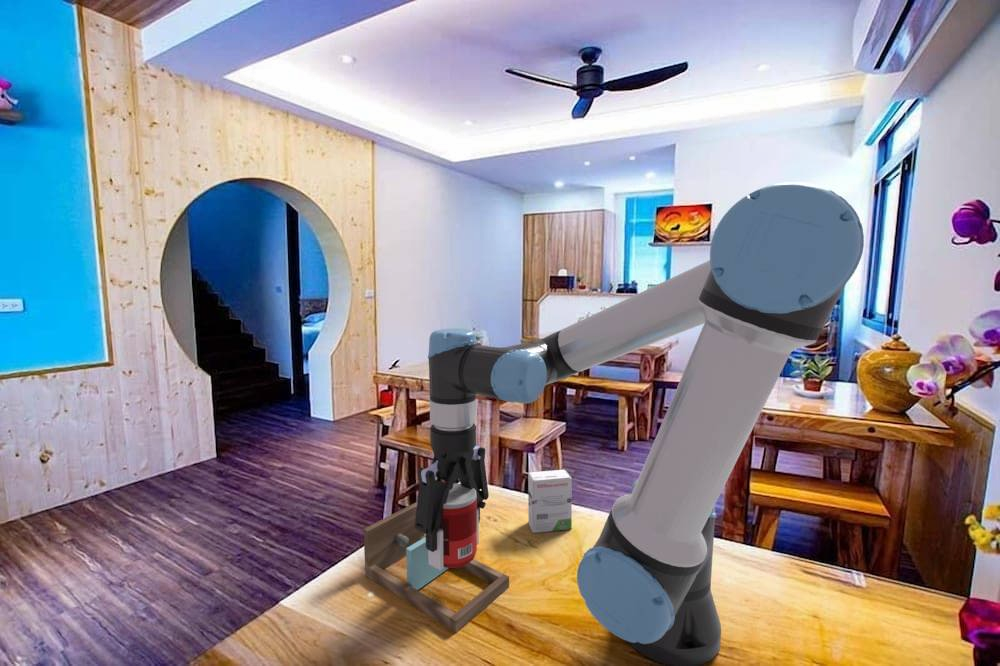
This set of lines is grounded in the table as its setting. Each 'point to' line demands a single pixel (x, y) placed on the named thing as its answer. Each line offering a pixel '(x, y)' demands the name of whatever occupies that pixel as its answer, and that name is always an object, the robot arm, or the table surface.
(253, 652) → the table surface
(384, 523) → the brown open rectangular frame
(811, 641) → the table surface
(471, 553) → the canned food
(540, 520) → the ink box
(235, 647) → the table surface
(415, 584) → the panel
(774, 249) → the robot arm
